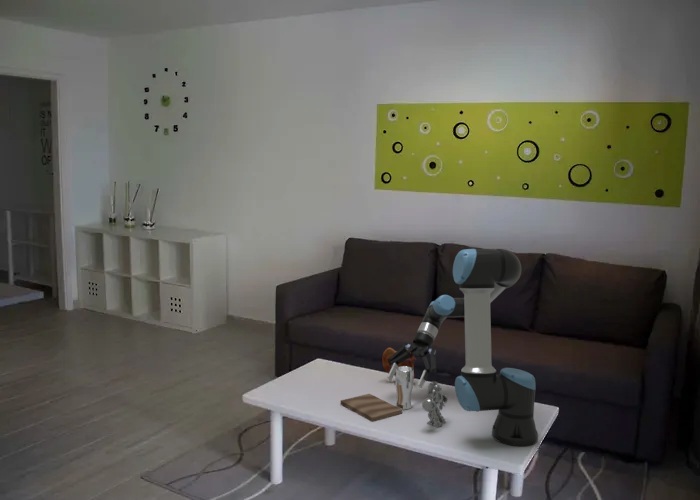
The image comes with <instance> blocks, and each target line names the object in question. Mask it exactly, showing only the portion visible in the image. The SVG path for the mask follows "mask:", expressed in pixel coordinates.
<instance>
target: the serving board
mask: <svg viewBox="0 0 700 500" xmlns="http://www.w3.org/2000/svg"><path fill="white" fill-rule="evenodd" d="M340 405H341V406H343V407H345V408H347V410H348V409H349V410H350V411H353V412H354V413H355V414H358V415H359V416H361V417H363V418H364V419H367V420H368V421H370V422H376V421H380V420H383V419H387V418H391V417H394V416H398V415H401V414H403V409H400V408H398V407H396V405H393V404H392V403H389V402H387V401H385V400H383V399H381V398H380V397H378V396H375V395H374V394H371V393H367V394H362V395H359V396H358V395H357V396H354V397H350V398H344V399H342V400H340Z"/></svg>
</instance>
